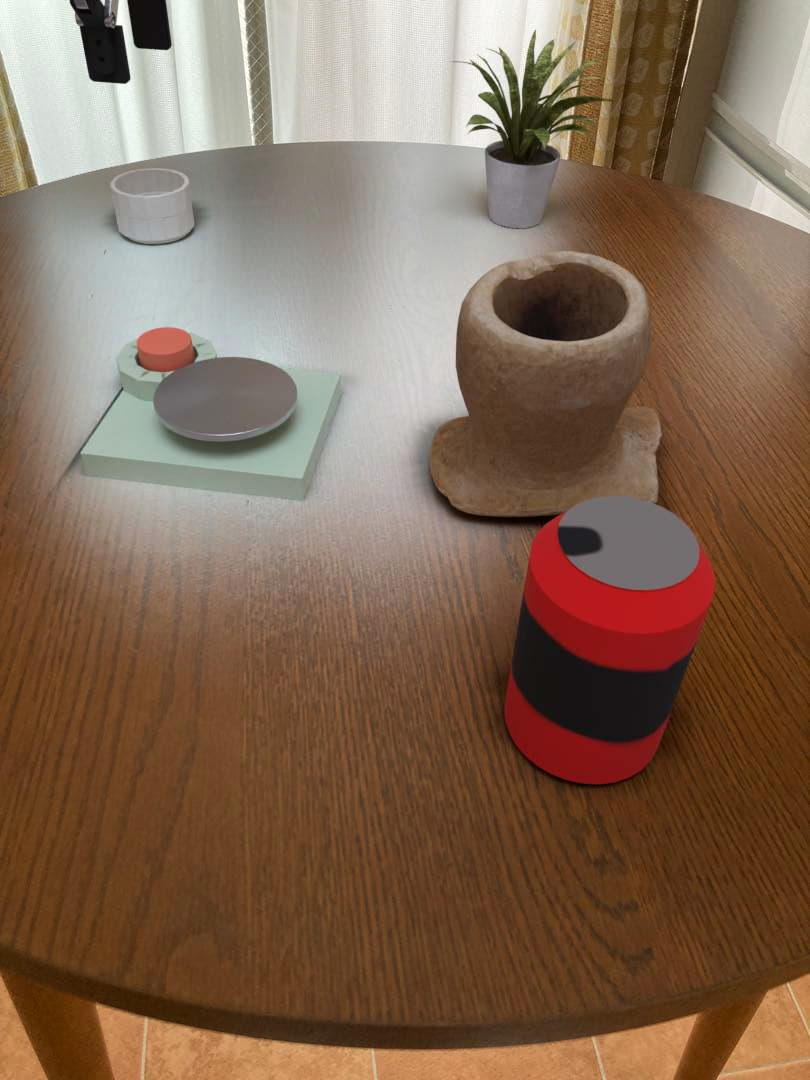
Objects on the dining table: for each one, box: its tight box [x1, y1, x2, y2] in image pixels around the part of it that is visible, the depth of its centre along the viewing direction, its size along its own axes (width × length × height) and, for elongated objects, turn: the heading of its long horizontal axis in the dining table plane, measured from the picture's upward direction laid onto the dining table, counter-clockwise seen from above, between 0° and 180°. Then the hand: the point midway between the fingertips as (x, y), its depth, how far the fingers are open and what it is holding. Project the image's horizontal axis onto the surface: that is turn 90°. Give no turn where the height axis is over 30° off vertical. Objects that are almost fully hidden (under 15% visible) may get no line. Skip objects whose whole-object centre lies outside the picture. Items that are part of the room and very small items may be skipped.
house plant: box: [448, 27, 618, 229], centre depth 84 cm, size 14×14×16 cm
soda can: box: [503, 496, 716, 785], centre depth 41 cm, size 8×8×12 cm
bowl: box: [110, 167, 195, 245], centre depth 84 cm, size 7×7×4 cm
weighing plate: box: [153, 356, 297, 441], centre depth 58 cm, size 9×9×1 cm
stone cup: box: [428, 250, 663, 518], centre depth 53 cm, size 15×12×15 cm
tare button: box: [137, 326, 194, 372], centre depth 62 cm, size 4×4×2 cm
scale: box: [80, 332, 342, 502], centre depth 61 cm, size 15×13×4 cm
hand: (133, 64), depth 76 cm, fingers open, 9 cm apart
